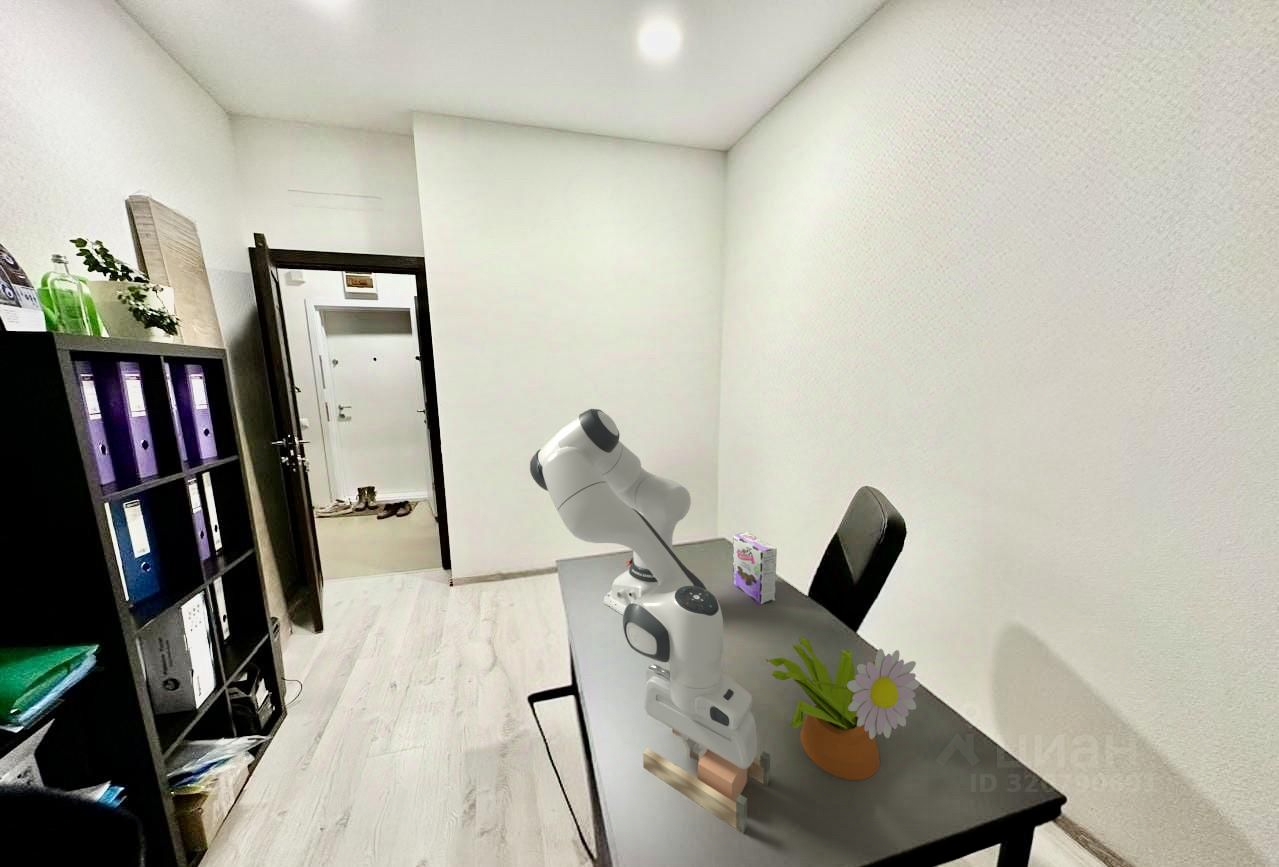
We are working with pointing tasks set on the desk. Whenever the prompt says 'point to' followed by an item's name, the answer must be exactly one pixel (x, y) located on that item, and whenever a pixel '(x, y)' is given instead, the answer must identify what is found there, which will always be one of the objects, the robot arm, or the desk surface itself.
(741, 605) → the desk surface
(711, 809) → the chute
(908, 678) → the decorative plant
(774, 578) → the candy box
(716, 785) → the block
